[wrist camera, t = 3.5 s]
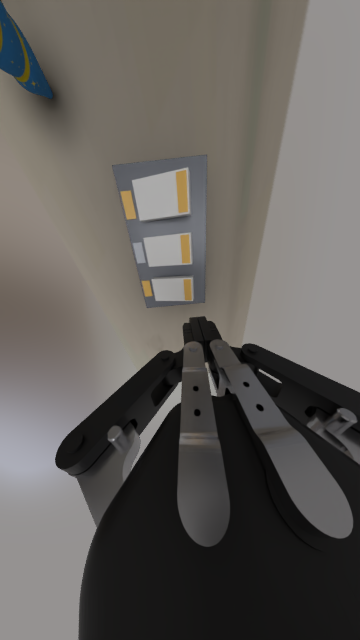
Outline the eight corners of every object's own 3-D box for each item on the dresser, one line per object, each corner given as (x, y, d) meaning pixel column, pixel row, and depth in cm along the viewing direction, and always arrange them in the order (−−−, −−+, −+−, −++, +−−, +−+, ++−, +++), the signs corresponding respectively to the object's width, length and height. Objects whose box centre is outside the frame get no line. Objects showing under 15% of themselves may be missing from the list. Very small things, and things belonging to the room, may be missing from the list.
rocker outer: (154, 277, 23) (151, 279, 22) (193, 275, 22) (192, 278, 20) (158, 298, 25) (155, 301, 24) (194, 298, 24) (192, 301, 22)
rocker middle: (147, 237, 20) (142, 237, 19) (191, 232, 19) (190, 232, 17) (152, 265, 22) (148, 266, 21) (192, 262, 21) (191, 264, 19)
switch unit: (120, 175, 19) (109, 162, 16) (202, 166, 19) (208, 151, 15) (149, 302, 29) (146, 309, 26) (202, 297, 29) (205, 303, 26)
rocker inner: (137, 184, 17) (131, 179, 16) (189, 172, 15) (187, 166, 14) (144, 221, 19) (139, 220, 18) (191, 215, 18) (189, 213, 16)
